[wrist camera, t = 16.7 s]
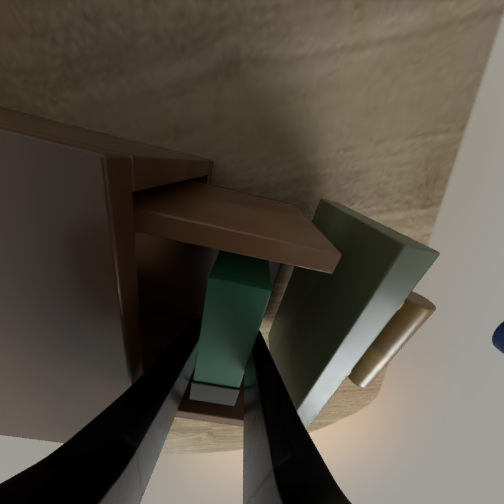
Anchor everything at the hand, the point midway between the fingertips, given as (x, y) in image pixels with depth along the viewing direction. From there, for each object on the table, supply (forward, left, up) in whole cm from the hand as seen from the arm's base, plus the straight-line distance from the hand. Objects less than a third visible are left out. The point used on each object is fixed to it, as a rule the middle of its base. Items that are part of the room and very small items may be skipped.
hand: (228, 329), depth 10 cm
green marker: (0, 0, -1) cm, 1 cm away
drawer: (0, 0, -6) cm, 6 cm away
